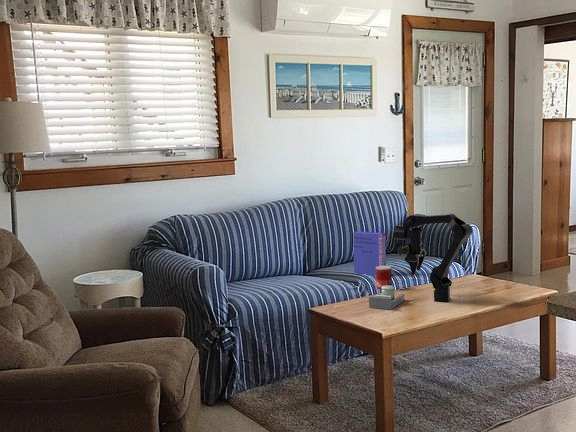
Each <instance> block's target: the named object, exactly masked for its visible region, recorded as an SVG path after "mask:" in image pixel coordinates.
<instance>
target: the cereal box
mask: <svg viewBox="0 0 576 432" xmlns="http://www.w3.org/2000/svg"><path fill="white" fill-rule="evenodd" d="M352 235H353V236H352V239H353V272H354V273H357V274H356V275H361V274H366V275H365V276H373V277H376V267H377V266H387V262H386V261H387V258H386V257H387V256H386V255H387V254H386V252H387V251H386V250H387V249H386V232H378V231H377V232H374V231H359V230H358V231H354V232H353V233H352Z"/></svg>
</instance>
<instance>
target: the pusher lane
mask: <svg viewBox="0 0 576 432" xmlns="http://www.w3.org/2000/svg"><path fill="white" fill-rule="evenodd" d="M379 295H382V293H380V294H379ZM405 300H406V299H405V293H401V294H399V295H398V296H396V297H395V299H394V300H392V298H382V297H375V296H369V297H368V308H370V309H378V310H389V311H391V310H393V309H394V308H395V307H397V306H398V305H399V304H401V303H402V302H403V301H405Z"/></svg>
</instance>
